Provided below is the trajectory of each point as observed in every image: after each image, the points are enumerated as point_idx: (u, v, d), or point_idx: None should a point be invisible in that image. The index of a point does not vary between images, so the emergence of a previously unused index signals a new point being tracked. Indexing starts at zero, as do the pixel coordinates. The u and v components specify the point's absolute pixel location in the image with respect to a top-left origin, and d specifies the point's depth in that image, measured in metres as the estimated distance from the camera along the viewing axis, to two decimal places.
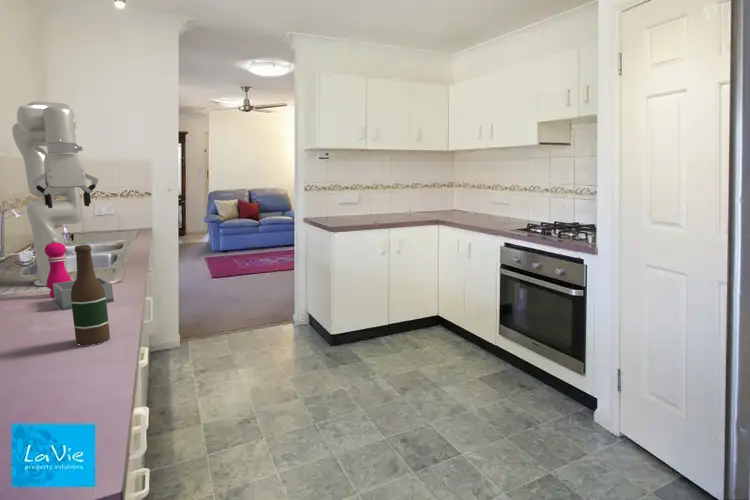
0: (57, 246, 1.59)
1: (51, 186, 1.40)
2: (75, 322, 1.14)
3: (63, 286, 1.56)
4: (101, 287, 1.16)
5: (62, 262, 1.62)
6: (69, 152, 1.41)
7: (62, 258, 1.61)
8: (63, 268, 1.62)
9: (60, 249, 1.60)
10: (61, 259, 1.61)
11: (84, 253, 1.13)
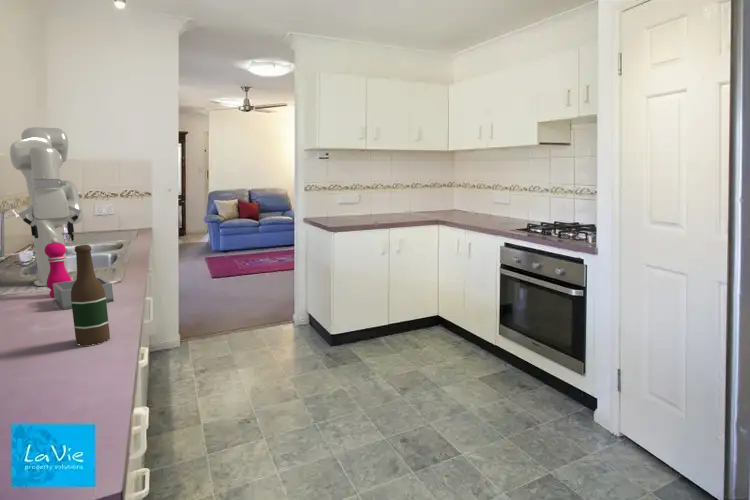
0: (57, 246, 1.59)
1: (37, 218, 1.55)
2: (75, 322, 1.14)
3: (63, 286, 1.56)
4: (101, 287, 1.16)
5: (62, 262, 1.62)
6: (53, 187, 1.56)
7: (62, 258, 1.61)
8: (63, 268, 1.62)
9: (60, 249, 1.60)
10: (61, 259, 1.61)
11: (84, 253, 1.13)
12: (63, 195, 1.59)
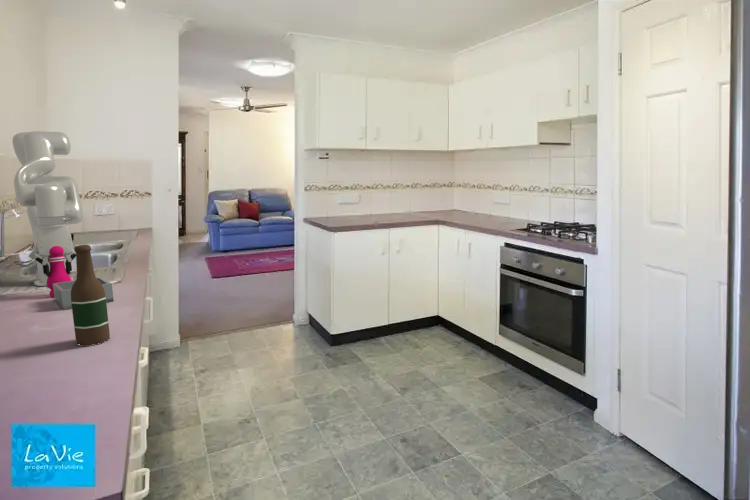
0: (57, 246, 1.59)
1: (41, 255, 1.57)
2: (75, 322, 1.14)
3: (63, 286, 1.56)
4: (101, 287, 1.16)
5: (62, 262, 1.62)
6: (58, 224, 1.58)
7: (62, 258, 1.61)
8: (63, 268, 1.62)
9: (60, 249, 1.60)
10: (61, 259, 1.61)
11: (84, 253, 1.13)
12: (67, 231, 1.61)
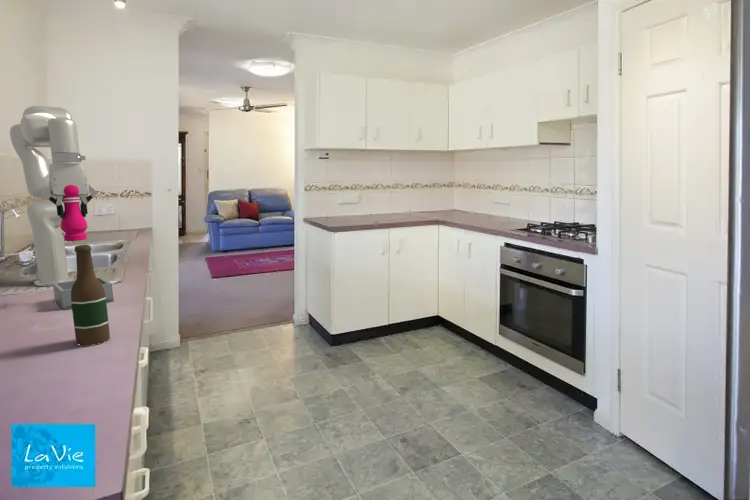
0: (72, 185, 1.48)
1: (56, 194, 1.46)
2: (75, 322, 1.14)
3: (63, 286, 1.56)
4: (101, 287, 1.16)
5: (77, 203, 1.50)
6: (73, 161, 1.47)
7: (77, 199, 1.50)
8: (78, 210, 1.51)
9: (75, 189, 1.49)
10: (76, 200, 1.50)
11: (84, 253, 1.13)
12: (83, 170, 1.50)
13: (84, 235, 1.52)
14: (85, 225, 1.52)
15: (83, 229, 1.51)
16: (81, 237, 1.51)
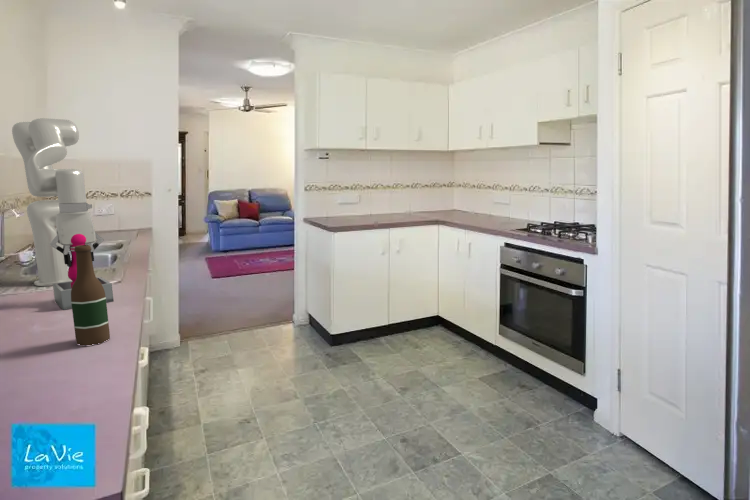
0: (79, 234, 1.50)
1: (63, 244, 1.48)
2: (75, 322, 1.14)
3: (63, 286, 1.56)
4: (101, 287, 1.16)
5: None
6: (80, 211, 1.49)
7: None
8: None
9: (82, 238, 1.51)
10: None
11: (84, 253, 1.13)
12: (90, 219, 1.52)
13: None
14: None
15: None
16: None
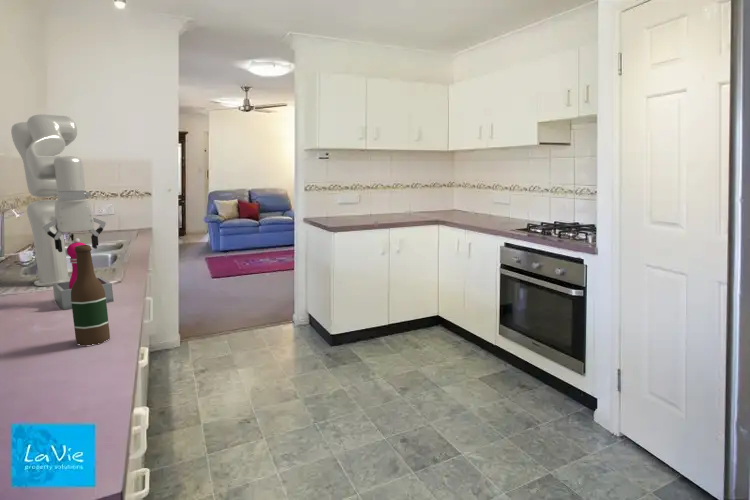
0: None
1: (61, 232, 1.48)
2: (75, 322, 1.14)
3: (63, 286, 1.56)
4: (101, 287, 1.16)
5: None
6: (78, 199, 1.48)
7: None
8: None
9: None
10: None
11: (84, 253, 1.13)
12: (88, 207, 1.52)
13: None
14: None
15: None
16: None
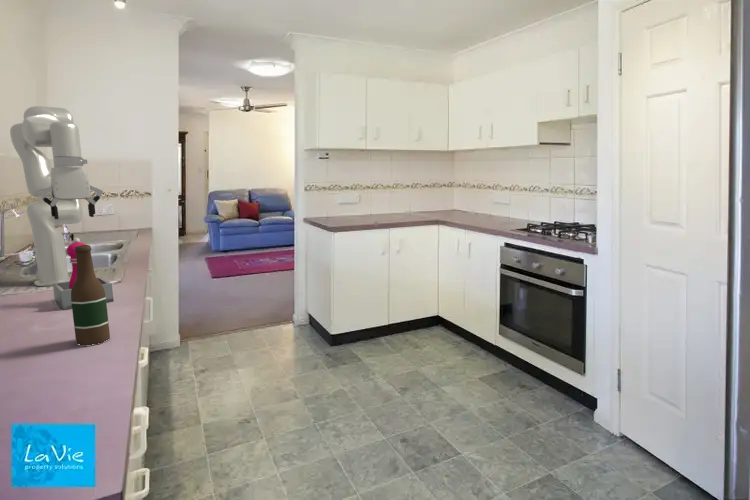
0: None
1: (57, 198, 1.46)
2: (75, 322, 1.14)
3: (63, 286, 1.56)
4: (101, 287, 1.16)
5: None
6: (75, 165, 1.47)
7: None
8: None
9: None
10: None
11: (84, 253, 1.13)
12: (85, 174, 1.50)
13: None
14: None
15: None
16: None
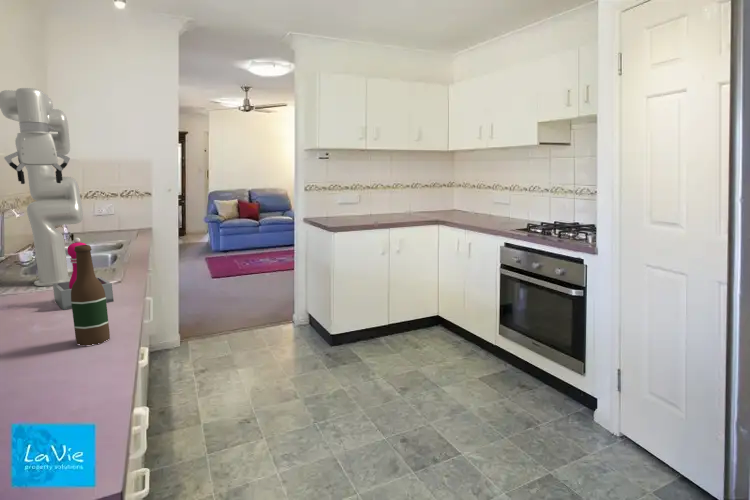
0: None
1: (23, 163, 1.49)
2: (75, 322, 1.14)
3: (63, 286, 1.56)
4: (101, 287, 1.16)
5: None
6: (40, 131, 1.49)
7: None
8: None
9: None
10: None
11: (84, 253, 1.13)
12: (51, 140, 1.53)
13: None
14: None
15: None
16: None
